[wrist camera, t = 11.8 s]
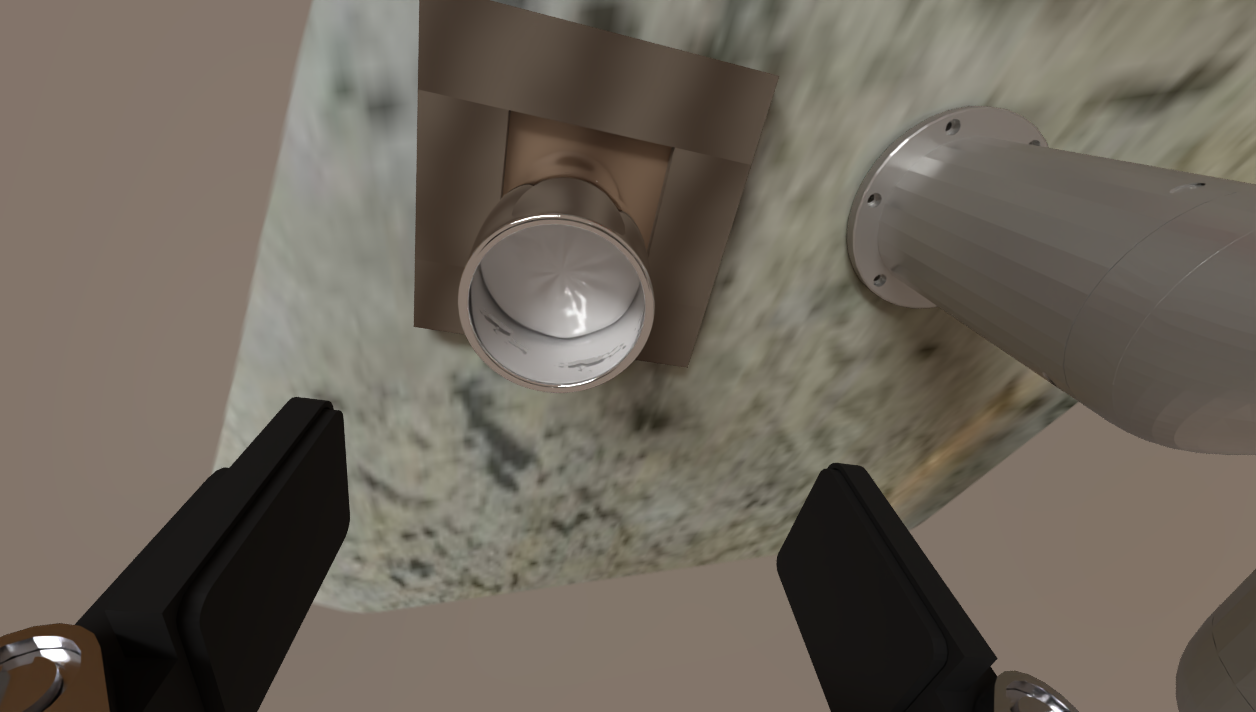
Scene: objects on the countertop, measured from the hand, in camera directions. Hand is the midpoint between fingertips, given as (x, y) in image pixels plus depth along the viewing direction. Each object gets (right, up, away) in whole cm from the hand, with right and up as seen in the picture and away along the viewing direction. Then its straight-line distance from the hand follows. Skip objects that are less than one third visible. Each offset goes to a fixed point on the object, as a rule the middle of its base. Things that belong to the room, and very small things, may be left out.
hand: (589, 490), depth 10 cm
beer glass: (-3, +12, +20) cm, 23 cm away
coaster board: (-2, +12, +21) cm, 24 cm away
